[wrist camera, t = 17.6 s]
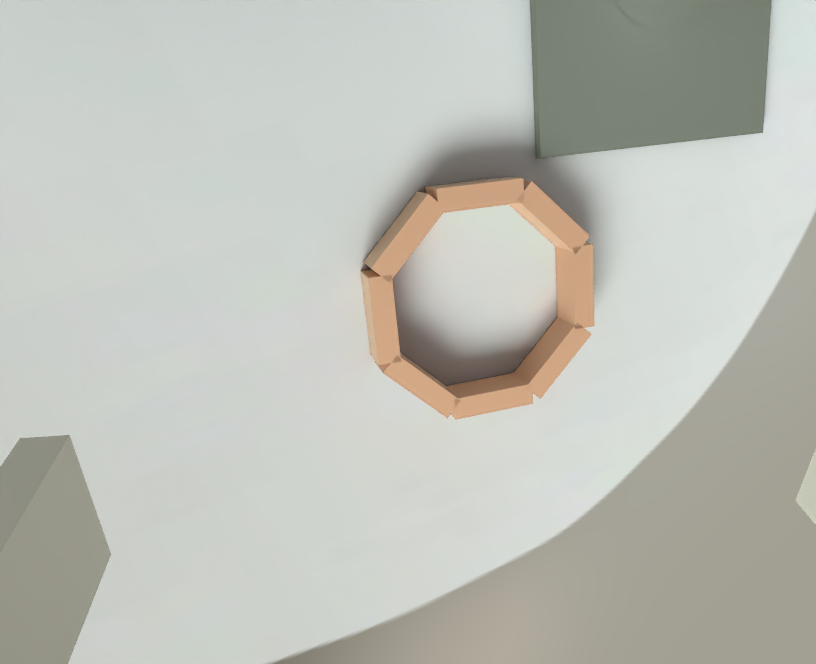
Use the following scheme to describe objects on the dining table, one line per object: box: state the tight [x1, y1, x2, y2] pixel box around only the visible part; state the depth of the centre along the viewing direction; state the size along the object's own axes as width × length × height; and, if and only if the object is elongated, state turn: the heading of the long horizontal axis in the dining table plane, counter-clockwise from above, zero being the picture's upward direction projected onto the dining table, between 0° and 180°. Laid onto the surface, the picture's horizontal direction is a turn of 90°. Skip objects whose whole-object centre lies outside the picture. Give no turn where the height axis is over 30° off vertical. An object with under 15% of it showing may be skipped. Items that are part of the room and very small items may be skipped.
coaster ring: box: [361, 177, 594, 419], centre depth 35 cm, size 12×12×2 cm
